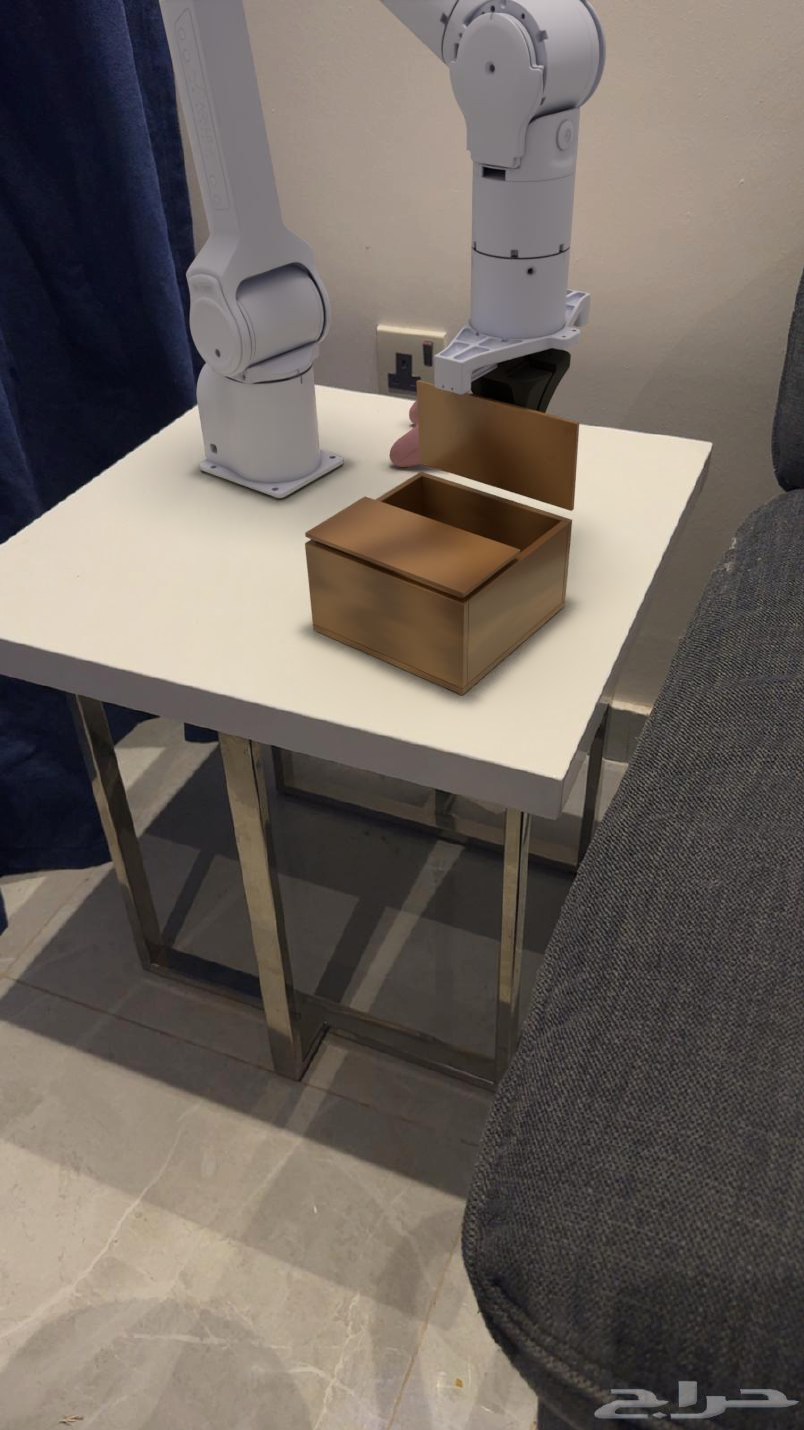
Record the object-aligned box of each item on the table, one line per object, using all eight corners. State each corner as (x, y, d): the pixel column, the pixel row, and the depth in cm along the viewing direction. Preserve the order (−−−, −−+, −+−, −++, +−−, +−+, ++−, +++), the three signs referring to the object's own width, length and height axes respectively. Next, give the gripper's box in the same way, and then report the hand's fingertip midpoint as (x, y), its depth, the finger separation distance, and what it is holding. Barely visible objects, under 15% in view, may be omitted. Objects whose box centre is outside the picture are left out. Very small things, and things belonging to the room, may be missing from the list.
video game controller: (431, 489, 86) (470, 420, 82) (383, 463, 85) (419, 392, 81) (451, 439, 94) (487, 373, 89) (406, 415, 93) (441, 347, 88)
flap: (416, 381, 67) (418, 379, 67) (419, 463, 70) (422, 461, 71) (577, 424, 61) (579, 421, 61) (571, 511, 65) (574, 509, 65)
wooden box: (312, 629, 68) (303, 532, 63) (422, 553, 75) (420, 461, 71) (462, 695, 62) (463, 594, 57) (565, 606, 69) (573, 509, 65)
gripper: (510, 290, 53) (501, 523, 62) (641, 226, 62) (618, 438, 71) (402, 268, 57) (408, 492, 65) (541, 211, 66) (530, 415, 74)
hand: (511, 463), depth 68 cm, fingers closed
